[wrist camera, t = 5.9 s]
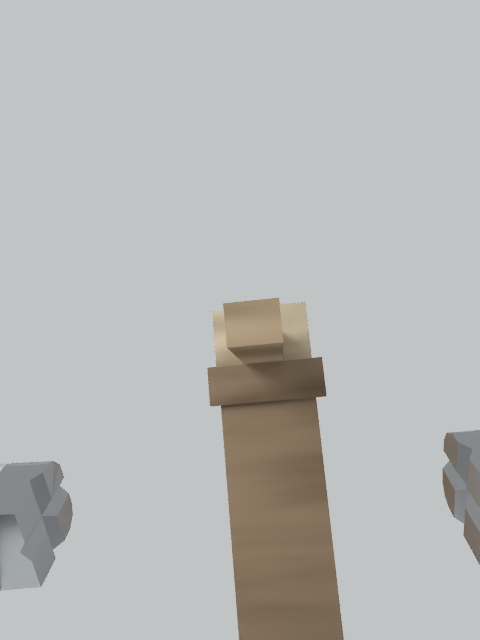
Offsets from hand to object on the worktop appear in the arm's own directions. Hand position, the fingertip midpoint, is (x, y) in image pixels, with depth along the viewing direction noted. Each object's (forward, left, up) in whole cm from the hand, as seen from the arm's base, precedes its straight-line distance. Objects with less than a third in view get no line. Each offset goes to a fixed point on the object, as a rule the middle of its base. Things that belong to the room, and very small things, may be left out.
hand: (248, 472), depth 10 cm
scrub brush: (+11, +9, +3) cm, 14 cm away
